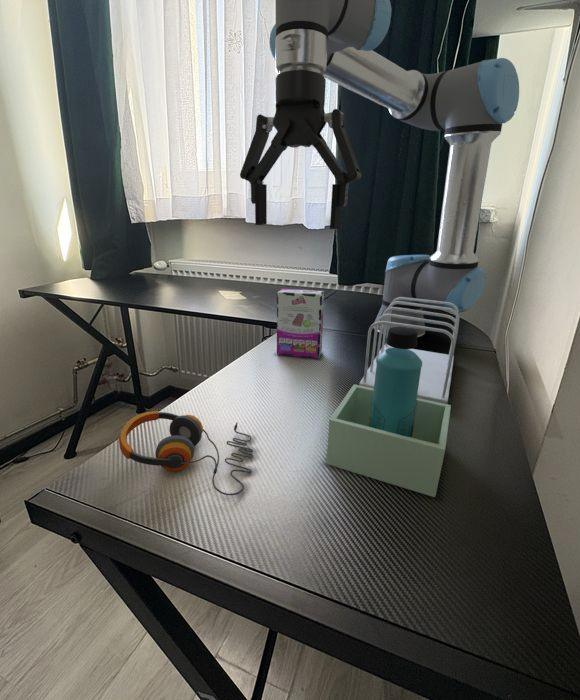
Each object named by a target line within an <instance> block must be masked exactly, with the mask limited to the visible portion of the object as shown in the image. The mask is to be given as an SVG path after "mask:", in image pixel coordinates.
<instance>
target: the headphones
mask: <svg viewBox="0 0 580 700" xmlns="http://www.w3.org/2000/svg"><path fill="white" fill-rule="evenodd" d="M159 419H162V420H169V421H171V422H170V424H169V434H170V435H169V436H165V437H164V438H163V439H161V440H160V441H159V442H158V444H157V445H156V449H155V457H153V456H148V455H147V456H146V455H143V454H139V453H137V452H135V451H134V449H133V447H132V446H131V445H130V444H129V442H128V441H127V438H128V435H129V434H130V433H131V432H132V431H133V430H134V429H135V428H136V427H138V426H140V425H142V424H144V423H147V422H153V421H158V420H159ZM238 424H239V422H238V421H237V422H236V423H235V425H234V428H233V431H234V432H235V433H236V434H238V435H243V436H244V437H245V436H246V437H248V438H249V439H248V440H246V439H241V438H236V437H233V438H232V441H231V440H227V441H226V445H228V446H231V447H234V448H237V449H238V450H237V451H238V452H240V453H242V454H240V453H237V452H231V453H230V455H231V457H234V458H231V457H226V458H225V459H224V462H225V464H227V465H229V466H231V467H236V468H239V469H232V470H231V471H230V472H229V473H230V476H231V478H232V479H234V480H235V481H236V482H237V483H238V484H240V485H241V489H240V490H239V491H237V492H231V493H228V492H227V493H226V492H224V491H222V490H220V489H218V487H217V486H216V483H215V476H216V475H217V473H218V468H219V463H220V453H219V449H218V447H217V445H216V444H215V442H214V441H213V440H211V439H210V437H209V434H208V433H207V431H206V430H205V429H204V426H203V424H202V422H201V420H200V419H199V418H198V417H196V416H195V415H192V414H185V415H184V414H183V415H178V414H174V413H171V412H163V411H158V410H151V411H145V412H142V413H140V414H137V415H135V416H133V417H131V419H129V420H128V421H127V422H126V423H125V424H124V426H123V427H122V428H121V431H120V434H119V438H118V444H119V445H118V446H119V450H120V453H122V455H123V456H124V457H125V458H126V459H127V460H132V461H134V462H135V463H136V462H137V463H139V464H143V465H149V466H157V467H161V468H162V469H164V470H166V471H167V472H180V471H182V470H184V469H186V468H187V467H188V466H189V465H190V464H195V463H198V462H200V461H202V460H204V459H206V458H210V459H212V461H213V462H214V469H213V472H212V473H213V474H212V479H211V480H212V481H211V482H212V487H213V488H214V490H216V491H217V492H218V493H220V494H222V495H224V496H237V495H239V494H240V493H241V492H243V491H244V490H245V489H244V488H245V485H244V484H243V482H241V481H240V480H239V479H238V478H237V477H235V476H234V475H233V472H239V473H246V474H251V473H252V472H253V470H252V469H250V468H248V467H245V466H241V465H238V464H235V463H231V462H229V461H233V462H237V463H243V462H244V459H243V458H248V459H252V458H253V454H252V453H253V452H254V449H252V448H250V447H246V446H248V443H249V442H251V441H252V437H251V436H250V435H249V434H247V433H243V432H240V431H237V428H238ZM203 433H204V434H205V435H206V437H207V440H208V441H209V442H210V443H211V444H212V445H213V447H214V449H215V451H216V455H217V459H216V458H215V457H214V456H213V455H209V454H206V455H204V456H202V457H201V458H199V459H196V460H193V459H194V456H195V447H196V446H197V445H198V444H199V443H200V441H201V440H202V438H203ZM244 454H245V455H244ZM235 458H236V459H235ZM228 460H229V461H228Z"/></svg>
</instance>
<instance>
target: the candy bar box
mask: <svg viewBox="0 0 580 700" xmlns="http://www.w3.org/2000/svg"><path fill="white" fill-rule="evenodd" d="M324 307H325V290H315V289H314V290H313V289H296V288H280V290H278V291H277V292H276V355H277V356H285V357H286V356H288V357H298V358H306V359H307V358H308V359H320V357H321V354H322V352H323V333H324V332H323V331H324V330H323V329H324V328H323V327H324Z"/></svg>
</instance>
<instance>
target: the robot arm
mask: <svg viewBox="0 0 580 700" xmlns="http://www.w3.org/2000/svg"><path fill="white" fill-rule="evenodd" d="M391 18H392V5H391V1H390V0H275V24H274V25H273V27H272V28H271V31H270V34H269V50H270V54H271V56H272V58H273V61H274V62H275V63H274V64H275V65H274V67H275V68H274V69H275V72H276V73H277V75H276V77H275V78H274V104H275V113H274V116H266V115H263V114H260V113H259V114H258V115H257V116H256V121H255V122H256V123H255V131H254V134H253V137H252V141H251V142H250V146H249V148H248V151H247V154H246V156H245V159H244V162H243V164H242V167H241V169H240V173H239V177H240V179H242V180H245V181H246V182H247V181H248V183H249V184H250V201H251V205H254V217H255V218H254V220H255V221H254V223H255V225H256V226H262V225H263V226H264V225H267V222H268V221H267V218H268V217H267V215H268V214H267V212H268V211H267V204H268V203H267V202H268V201H267V200H268V199H267V197H268V196H267V190H268V189H267V186H268V185H267V184H266V183H264V181H265V179H266V177H267V176H268V174H269V173H270V171H271V170H272V169H273V167H274V165H275V164H276V162H277V161H278V160H279V158H280V157H281V156H282V154H283V152H285V151H286V150H287V149H288V147H289V148H294V149H295V148H299V147H304V148H310V147H313V148H314V149H315V150H316V152H317V153H318V155H319V156H320V157H321V159H322V161H323V162H324V163H325V165H326V166H327V168H328V169H329V171H330V173H331V174H332V176H333V177H334V178H335V180H336V183H332V187H331V201H330V202H331V203H330V204H331V205H330V217H329V218H330V221H329V229H330V230H337V229H340V228H341V215H342V213H341V212H342V207H346V206H347V204H348V198H349V197H348V196H349V186H350V184H351V183H353V182H356V181H359V180H360V179H361V178H362V172H361V170H360V166H359V163H358V162H357V158H356V155H355V153H354V151H353V148H352V145H351V142H350V139H349V136H348V132H347V130H346V116H345V114H344V112H342V111H341V110H340V109H338V108H334V109H333V110H332V111H331V112H327V113H326V112H325V104H326V103H325V102H326V85H327V84H326V83H327V80H328V81H330V82H332V83H335V84H336V85H338V86H341V87H343V88H345V89H347V90H349V91H351V92H353V93H355V94H358V95H359V96H361V97H364V98H366V99H368V100H369V101H372V102H374V103H376V104H378V105H379V106H381V107H384V108H387V109H388V111H389V113H390V115H391V116H392V117H393V118H395V119H396V120H399V121H400V122H403V123H405V124H408V125H410V126H413V127H416V128H419V129H421V130H426V131H427V130H428V131H433V132H441V131H444V136H443V139H445V140H446V142H447V143H448V144H449V152H448V160H447V167H446V175H445V183H444V191H443V199H442V206H441V213H440V223H439V229H438V230H439V231H438V238H437V244H436V245H437V246H436V251H435V252H434V253H433V254H431V255H430V254H403V255H393V256H390V257H389V258H388V260H387V263H386V268H385V270H384V282H383V292H382V301H381V307H380V309H379V311H378V313H377V315H376V318H375V320H374V322H373V323H375V322H376V321H377V320H378V318H379V317H380V316H382V315H383V313H384V311H385V310H387V308H388V307H389V305H390V304H391V302H392V301H393V300H394V299H396V298H398V297H405V298H415V299H424V300H434V301H442V302H450V303H453V304H454V305H456V307H457V308H458V311H459V314H460V313H464V312H467V311H468V310H470V309H472V307H473V306H474V305H475V304H476V302H477V301H478V300H479V299H480V296H481V294H482V293H483V290H484V287H485V283H486V272H485V271H484V269H482V268H480V267H479V261H480V259H479V258H478V257H479V256H477V255H476V254H475V252H474V250H475V245H476V238H477V233H478V226H479V221H480V214H481V208H482V202H483V198H484V197H483V196H484V190H485V185H486V180H487V179H486V178H487V171H488V168H489V167H488V166H489V160H490V154H491V149H492V144H493V142H494V141H495V140H496V139H497V138H498V137H499V136H501V134H502V128H503V124H506V123H508V122H509V121H510V120H512V118H513V117H514V116H515V112H516V111H517V109H518V106H519V102H520V101H519V100H520V79H519V74H518V72H517V69H516V66H515V64H513V62H512V61H511V60H510V59H508V58H506V57H498V58H491V59H484V60H481V61H478V62H475V63H471V64H467V65H464V66H460V67H457V68H453V69H449V70H444V71H440V72H436V73H435V72H434V73H422V72H420V71H419V70H416V69H410V70H406V69H405V68H403V67H401V66H399V65H398V64H396V63H394V62H392V61H391V60H389V59H387V57H384V56H383V55H381V54H379V53H377V51H374V50H375V49H376V48H377V47H379V46H380V45H381V43H382V42H383V41H384V39H385V37H386V36H387V34H388V31H389V28H390V26H391ZM326 125H328V128H330V129H331V130H332V132H333V135H334V138H335V141H336V143H337V146H338V149H339V152H340V154H341V157H342V160H343V162H344V165H345V168H346V170H347V172H346V171H345V169H344V168H343V166H342V165H341V163H340V162H339V160H338V159H337V157H336V156H335V154H334V153H333V152H332V150H331V149H330V147H329V145H328V143H327V141H326V139H325V138H324V137H323V135H322V134H321V133H322V131H323V129H324V128H325V126H326ZM273 128H274V129H275V131H276V133H275V135H274V136H273V137H272V140H271V141H270V145H269V147H268V149H266V151H265V153H264V150H265V147H266V144H267V143H268V140H269V136H270V133H271V132H272V131H273ZM263 153H264V155H263ZM262 155H263V156H262ZM397 301H402V302H410V303H417V304H425V305H432V306H439V307H447V308H451V309H454V310H455V308H454V307H452V306H450V305H445V304H436V303H427V302H418V301H409V300H397ZM395 302H396V301H395ZM392 307H399V308H406V309H413V310H420V311H423V307H418V306H411V305H403V304H396V305H393V306H392ZM444 311H445V312H448V311H447V310H444ZM455 311H456V310H455ZM391 314H395V315H402V316H409V317H415V318H421V319H425V318H424V314H419V313H413V312H406V311H399V310H392V312H391ZM388 318H389V317H388ZM385 319H386V317H384V321H385ZM380 321H381V320H380ZM390 322H395V323H402V324H409V325H417V326H424V327H426V322H420V321H414V320H407V319H400V318H394V317H391V320H390ZM380 325H381V324H379V325H378V331H377V336H379V333H380ZM384 326H385V324H383V329H382V337H383V334H384ZM387 327H388V325H387ZM392 327H400V326H392V325H390V328H392ZM411 329H414V328H411ZM414 330H416V331H417V340H420V339H422V338H424V337H425V335H426V330H421V329H414ZM372 331H373V333H375V326H374V327H373V329H372ZM386 336H387V329H386ZM386 336H385V338H386Z"/></svg>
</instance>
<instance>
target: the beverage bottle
mask: <svg viewBox="0 0 580 700" xmlns="http://www.w3.org/2000/svg"><path fill="white" fill-rule="evenodd" d="M386 343H387V345H389V346H391V347H394V348H389V349H386V350H385V351H383V352H382V353H380V354H379V355H378V356H377V355H376V356H377V366H376V374H375V383H374V390H373V399H372V402H371V403H372V405H371V406H372V409H371V408H370V409H371V417H370V419H369V422H370V425H369V427H371V428H375V429H379V430H383V431H387V432H391V433H395V434H399V435H403V436H406V437H410V438H411V437H412V434H413V427H414V423H413V421H414V418H415V417H414V416H415V415H416V414H415V412H416V410H415V408H416V405H417V404H416V403H417V402H416V401H417V393H418V386H419V380H420V373H421V367H422V361H421V359H420V358H419V357H418V356H417V355H416V354H415V353H414V352H413V351H411V350H408V349H415V348H417V347H418V339H417V331H416V330H414V329H411V328H407V327H392V328H390V329H389V331H388V335H387V339H386V338H385V344H386ZM416 409H417V408H416Z"/></svg>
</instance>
